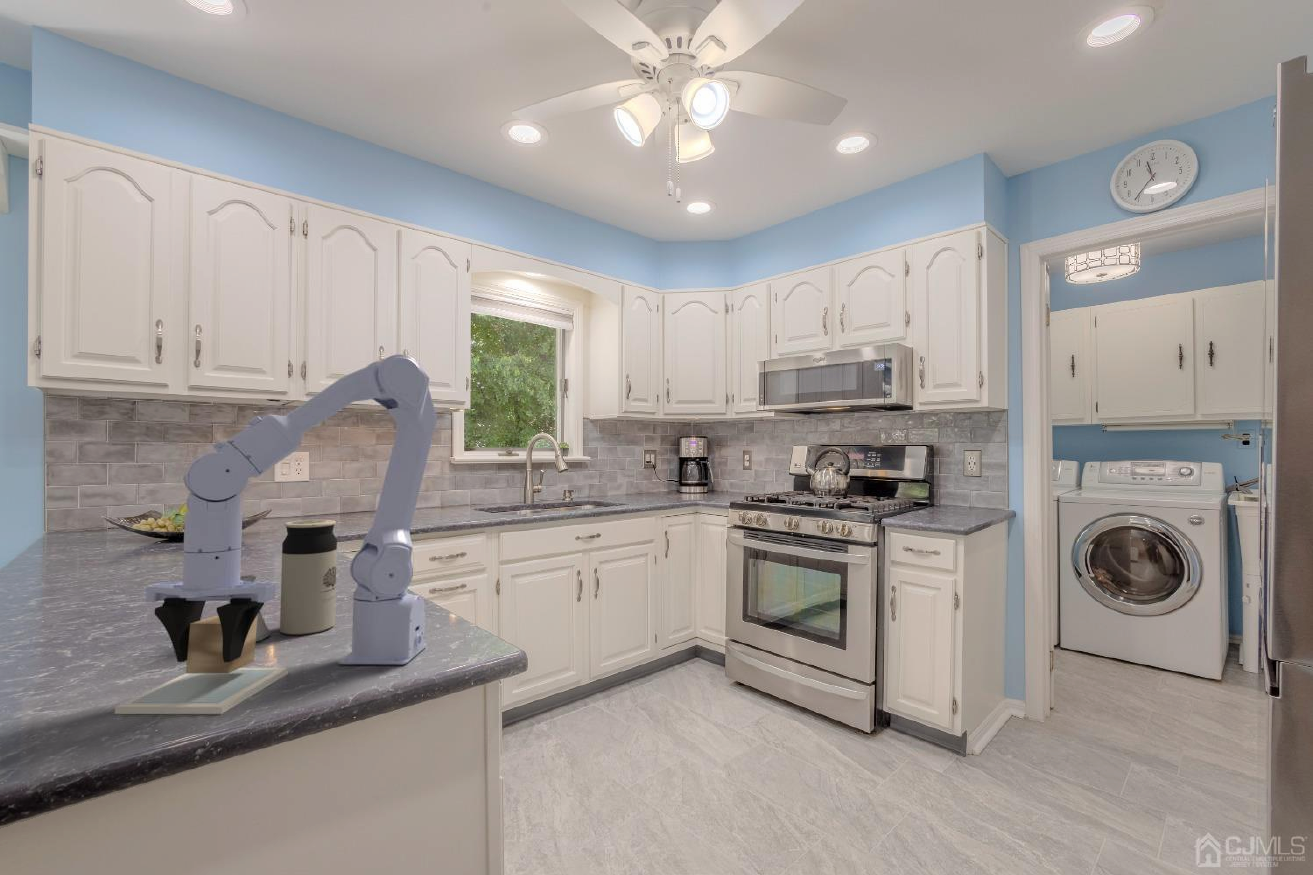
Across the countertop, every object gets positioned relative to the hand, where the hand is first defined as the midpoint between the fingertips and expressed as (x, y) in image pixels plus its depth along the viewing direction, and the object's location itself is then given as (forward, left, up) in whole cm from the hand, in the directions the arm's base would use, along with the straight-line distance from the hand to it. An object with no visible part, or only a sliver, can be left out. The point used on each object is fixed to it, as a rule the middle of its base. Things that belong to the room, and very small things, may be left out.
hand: (209, 659), depth 71 cm
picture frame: (0, 0, -4) cm, 4 cm away
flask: (+10, -20, -4) cm, 23 cm away
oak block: (0, -2, -2) cm, 3 cm away
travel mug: (+3, -26, -4) cm, 27 cm away
